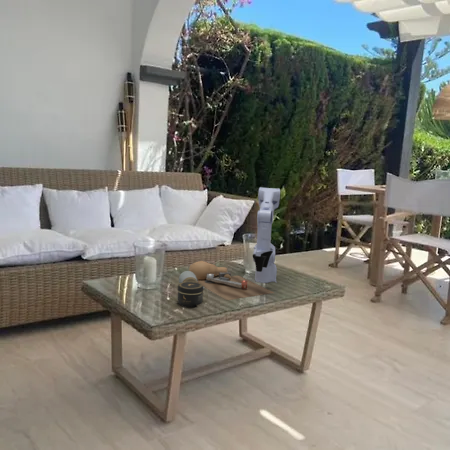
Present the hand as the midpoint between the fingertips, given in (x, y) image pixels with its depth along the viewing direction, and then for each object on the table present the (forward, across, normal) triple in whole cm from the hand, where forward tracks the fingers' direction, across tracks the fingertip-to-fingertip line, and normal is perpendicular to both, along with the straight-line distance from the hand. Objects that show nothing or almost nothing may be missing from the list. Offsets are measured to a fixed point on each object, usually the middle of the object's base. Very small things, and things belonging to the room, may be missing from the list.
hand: (261, 269), depth 208 cm
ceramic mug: (+11, +12, -27) cm, 31 cm away
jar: (+11, +27, -20) cm, 36 cm away
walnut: (+9, -6, -17) cm, 21 cm away
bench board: (+10, +1, -12) cm, 16 cm away
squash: (+11, -9, -28) cm, 31 cm away
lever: (+9, 0, -15) cm, 18 cm away
